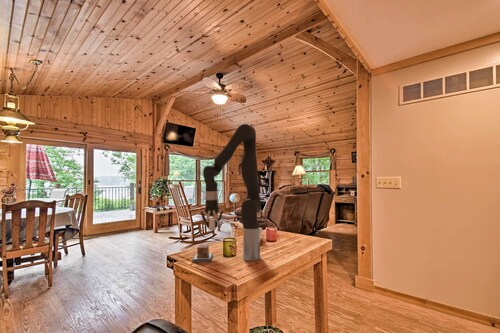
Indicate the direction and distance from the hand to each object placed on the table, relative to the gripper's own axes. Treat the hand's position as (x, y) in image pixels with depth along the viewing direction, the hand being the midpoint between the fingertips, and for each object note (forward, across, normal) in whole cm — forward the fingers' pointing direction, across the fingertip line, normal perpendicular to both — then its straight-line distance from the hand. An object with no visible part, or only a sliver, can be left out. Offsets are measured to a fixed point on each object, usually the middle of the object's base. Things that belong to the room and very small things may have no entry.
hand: (212, 227), depth 146 cm
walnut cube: (+14, +4, +9) cm, 17 cm away
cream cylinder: (+1, 0, 0) cm, 1 cm away
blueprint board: (+15, +4, +9) cm, 18 cm away
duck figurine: (+16, -29, -22) cm, 40 cm away
